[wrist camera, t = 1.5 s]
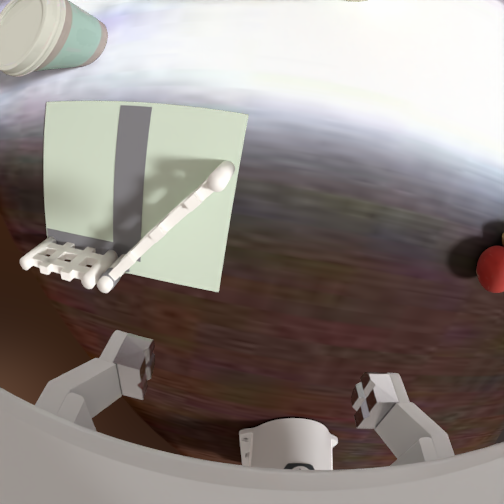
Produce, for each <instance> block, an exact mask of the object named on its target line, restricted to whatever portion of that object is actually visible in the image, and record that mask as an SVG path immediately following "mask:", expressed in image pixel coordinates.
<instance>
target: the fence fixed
mask: <svg viewBox="0 0 504 504" xmlns="http://www.w3.org/2000/svg"><path fill="white" fill-rule="evenodd" d="M46 254H49V255H51V256H49V257H47V256H45V255H46ZM65 259H69V260H72V261H71V262H66V261H64V260H65ZM117 259H118V255H117V253H116V252H115V251H114V250H108V251H107V252H106V253H105V254H104V255H101V254H97V253H96V250H95V248H92V247H86V248H85V249H84V250H79V249H75V244H74V243H70V242H67V243H65V244H64V245H63V246H62V245H58V244H57V241H56V239H55V238H54V237H52V236H50V237H49V238H47V239H46V240H44V241H43V242H42V243H40V244H39V245H38V246H36V247H35V248H34V249H32V250H31V251H30V252H29V253H27V254H26V255H25V256H23V257H22V258H21V259H20V264H21V267H22V268H23V269H25V270H28V269H29V268H30V267H32V266H36V267H39V268H40V273H43V274H47V275H48V274H50V273H51V272H56V273H59V274H61V278H62V279H63V280H67V281H71V280H72V279H73V278H77V279H81V282H82V284H83V286H84V287H85V288H87V289H92V288H93V287H94V286H95V284H96V283H97V282H98V281H99V279H100V277H101V276H102V275H103V273H104V272H105V271H106V270H107V269H108V268H110V267H111V266H112V265H113V264H114V262H115V261H116V260H117ZM87 264H88V265H92V267H91V268H89V267H85V266H86V265H87Z"/></svg>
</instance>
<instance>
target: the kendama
mask: <svg viewBox="0 0 504 504" xmlns="http://www.w3.org/2000/svg"><path fill="white" fill-rule="evenodd" d="M502 245H503V246H504V233H503V234H502ZM476 273H477V276H478V279H479V282H480V283H481V285H482V286H483V287H484V288H485V289H486V290H487V291H489V292H493V293H500V292H503V291H504V247H502V246H492V247H489V248H488V249H486V250H485V251H484V252H483V253H482V254H481V256H480V257H479V260H478V262H477V269H476Z"/></svg>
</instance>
